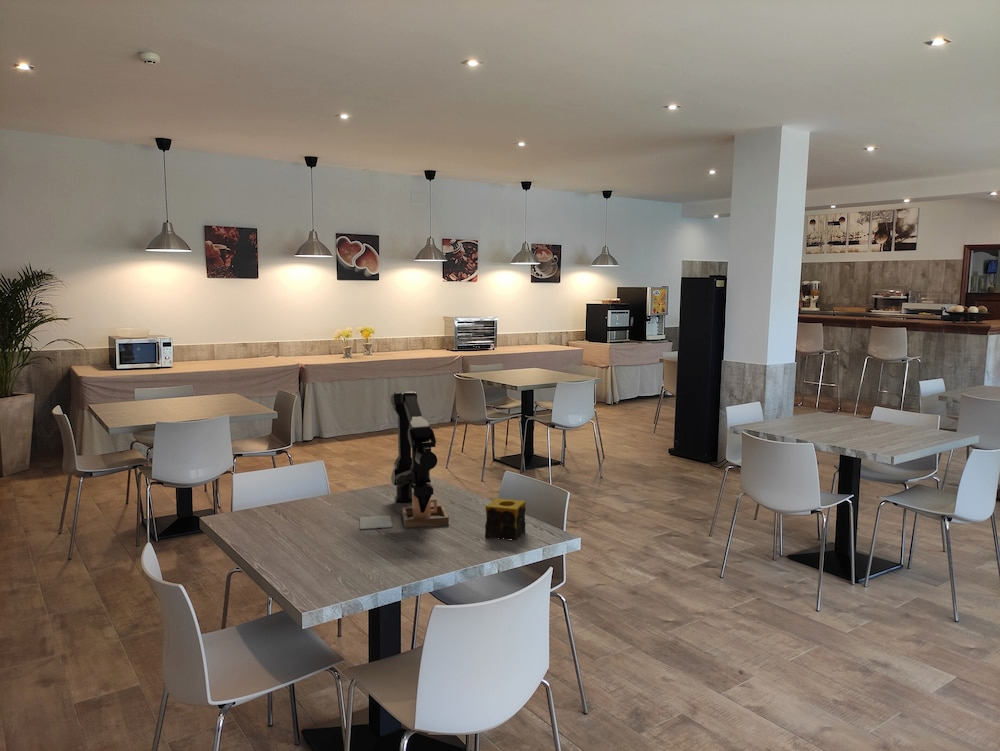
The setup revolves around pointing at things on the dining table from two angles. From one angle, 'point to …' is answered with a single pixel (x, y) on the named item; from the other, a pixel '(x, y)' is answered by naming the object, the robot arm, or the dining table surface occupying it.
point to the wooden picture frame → (425, 521)
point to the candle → (505, 519)
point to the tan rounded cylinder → (428, 510)
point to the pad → (375, 522)
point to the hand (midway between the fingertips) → (421, 509)
